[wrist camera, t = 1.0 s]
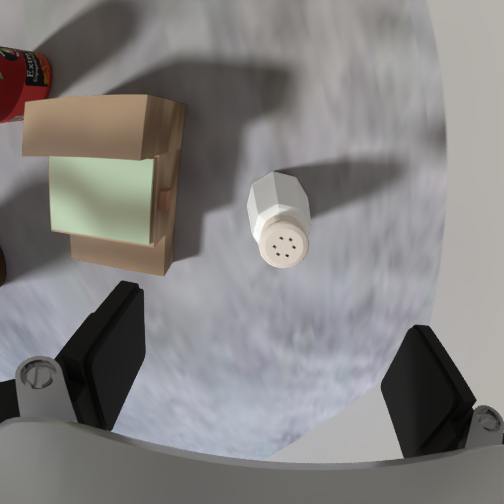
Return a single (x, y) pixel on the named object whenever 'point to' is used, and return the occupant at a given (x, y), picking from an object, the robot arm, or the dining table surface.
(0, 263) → the olive oil
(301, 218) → the pepper shaker
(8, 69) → the canned food
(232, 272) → the dining table surface
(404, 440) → the robot arm
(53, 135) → the stand
